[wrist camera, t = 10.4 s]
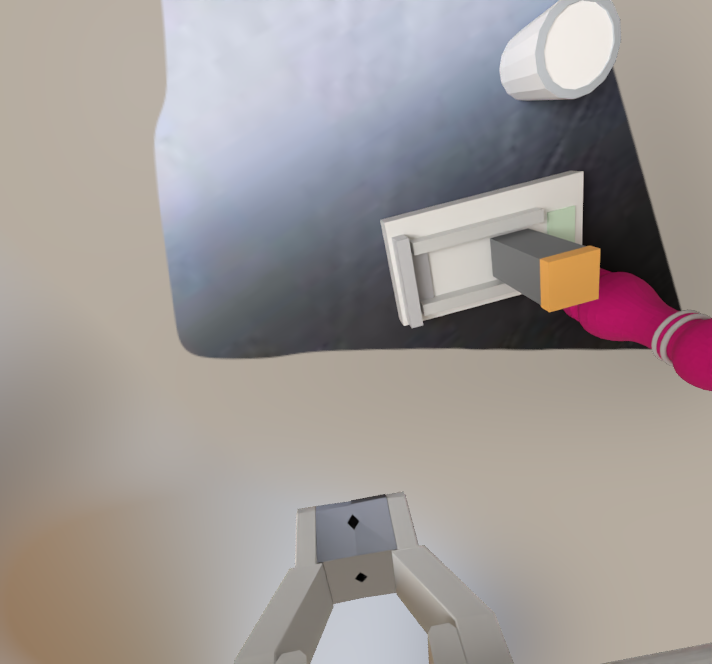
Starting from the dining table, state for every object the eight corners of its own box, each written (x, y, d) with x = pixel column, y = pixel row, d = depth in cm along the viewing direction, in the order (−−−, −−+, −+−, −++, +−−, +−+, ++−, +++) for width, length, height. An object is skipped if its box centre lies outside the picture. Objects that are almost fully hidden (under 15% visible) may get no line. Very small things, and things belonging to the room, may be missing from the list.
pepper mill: (624, 264, 46) (840, 335, 28) (602, 322, 49) (787, 422, 31) (567, 260, 45) (756, 332, 27) (548, 320, 47) (707, 423, 29)
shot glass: (551, 0, 35) (610, -34, 28) (574, 82, 37) (631, 67, 31) (481, 47, 35) (523, 23, 29) (508, 123, 38) (552, 117, 32)
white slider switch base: (380, 219, 40) (389, 226, 36) (570, 170, 41) (597, 172, 37) (399, 318, 44) (408, 333, 41) (569, 273, 45) (594, 283, 42)
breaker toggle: (488, 237, 40) (548, 262, 31) (528, 227, 40) (600, 248, 31) (492, 277, 42) (549, 312, 32) (530, 267, 42) (598, 298, 33)
